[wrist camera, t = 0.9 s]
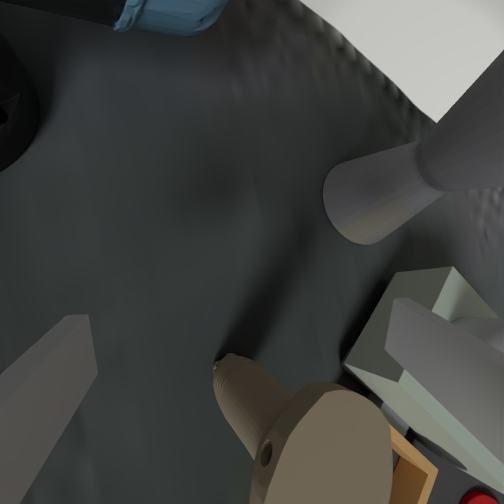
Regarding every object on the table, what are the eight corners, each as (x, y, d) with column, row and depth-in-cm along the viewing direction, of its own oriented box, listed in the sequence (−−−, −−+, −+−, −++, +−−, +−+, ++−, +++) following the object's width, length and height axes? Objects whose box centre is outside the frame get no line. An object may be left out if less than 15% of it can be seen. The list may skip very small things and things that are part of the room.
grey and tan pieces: (249, 493, 21) (362, 751, 9) (381, 274, 30) (527, 258, 18) (372, 591, 23) (598, 911, 11) (462, 358, 32) (642, 395, 20)
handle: (185, 396, 21) (227, 595, 7) (222, 325, 23) (313, 368, 9) (234, 419, 22) (357, 633, 8) (265, 348, 24) (408, 420, 10)
